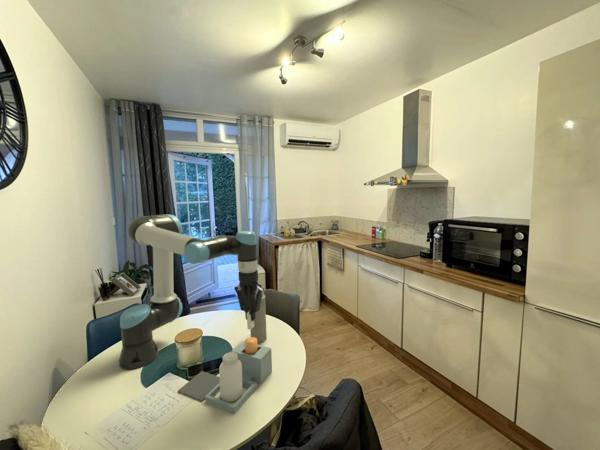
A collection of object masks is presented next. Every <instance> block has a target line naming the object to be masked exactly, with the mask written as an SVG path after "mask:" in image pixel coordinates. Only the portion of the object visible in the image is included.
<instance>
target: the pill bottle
mask: <svg viewBox="0 0 600 450" xmlns="http://www.w3.org/2000/svg"><path fill="white" fill-rule="evenodd" d="M218 371H219V377H220V391H219V394H220V400H223V401H225V402H228V403H231V402H235V401H238V400H239V399H240V398H241V397H242V395H243V393H244V392H243V391H244V388H243V386H244V385H242V364H241V361H240V360H238V355H237V353H235V352H231V351H229V352H226V353H224V354H223V356H222V362H221V363H220V365H219V370H218Z"/></svg>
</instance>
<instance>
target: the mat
mask: <svg viewBox="0 0 600 450" xmlns="http://www.w3.org/2000/svg"><path fill="white" fill-rule="evenodd" d="M219 383H220V376H217V375H215V374H212V373H209V372H207V371H203V370H201V371H200V372H199V373H198V374H197V375H195V376H194V377H193V378H191V379H190V380H189V381H187V383H185V384H184V385H182V386H181V387H180V388H179V389H178V390H177V393H179V394H181V395H184V396H187V397H189V398H191V399H194V400H197V401H199V402H203V401H205V396H206V395H207V394H208V393H209V392H210V391H211V390H212V389H213V388H215V387H216V386H217V385H218V384H219Z"/></svg>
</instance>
